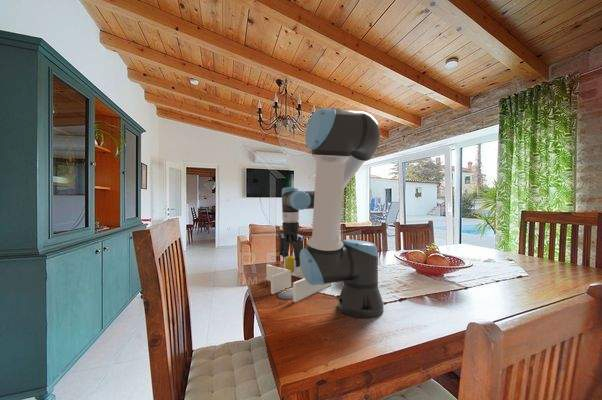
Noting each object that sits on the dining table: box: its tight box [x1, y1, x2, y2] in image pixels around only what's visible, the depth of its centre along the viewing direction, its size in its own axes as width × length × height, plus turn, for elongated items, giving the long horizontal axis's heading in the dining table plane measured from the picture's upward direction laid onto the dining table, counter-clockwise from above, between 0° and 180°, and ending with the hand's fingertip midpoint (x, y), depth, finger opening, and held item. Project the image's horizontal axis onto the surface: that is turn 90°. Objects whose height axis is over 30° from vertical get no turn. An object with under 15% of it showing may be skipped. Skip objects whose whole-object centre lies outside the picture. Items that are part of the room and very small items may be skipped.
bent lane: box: [265, 264, 332, 303], centre depth 111 cm, size 27×23×7 cm
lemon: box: [285, 255, 295, 273], centre depth 116 cm, size 6×6×8 cm
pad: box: [277, 289, 293, 300], centre depth 100 cm, size 8×8×1 cm
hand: (291, 272), depth 116 cm, fingers closed on lemon, 5 cm apart
